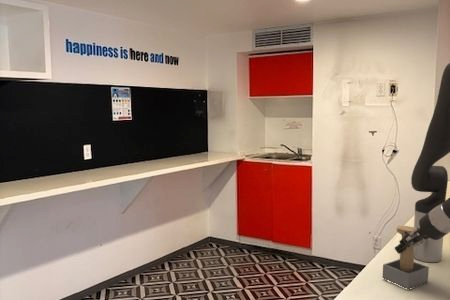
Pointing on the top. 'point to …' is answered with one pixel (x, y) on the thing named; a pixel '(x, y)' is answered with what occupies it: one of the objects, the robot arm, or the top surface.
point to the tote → (405, 274)
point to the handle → (406, 251)
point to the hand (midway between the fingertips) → (401, 249)
